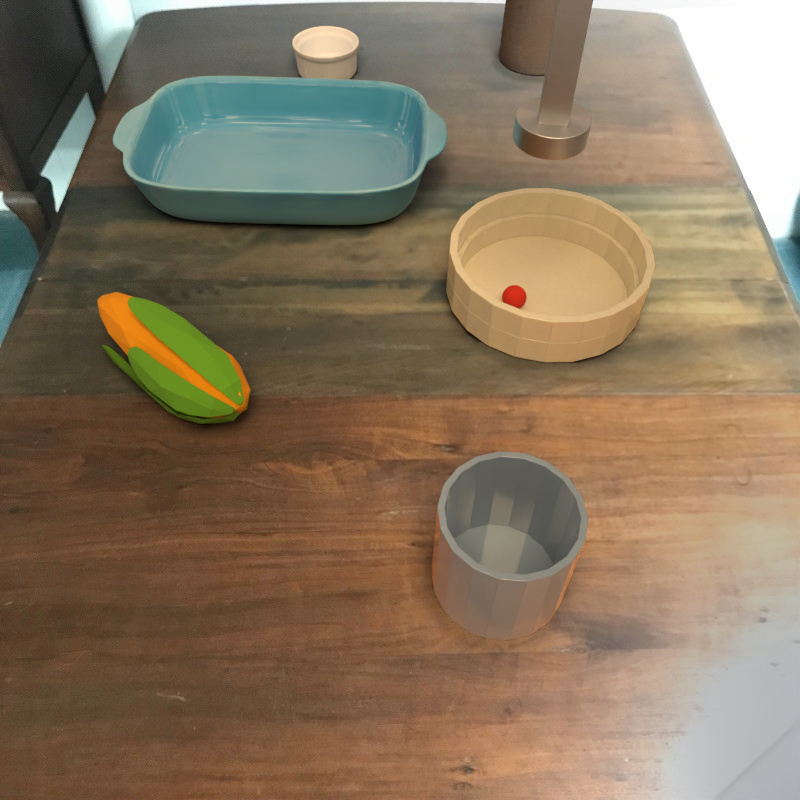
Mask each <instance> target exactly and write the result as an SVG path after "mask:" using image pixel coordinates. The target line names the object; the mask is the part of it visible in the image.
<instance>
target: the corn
mask: <svg viewBox="0 0 800 800" xmlns="http://www.w3.org/2000/svg"><path fill="white" fill-rule="evenodd" d="M96 303H97V307H98V313H99V317H100V319H101V321H102V323H103V326H104V327H105V329H106V331H107V334H108V335H109V336H110V337H111V338H112V339H113V341H114V342H115V343H116V344H117V345H118V346H119V348H120V349H121V350H122V351H123V352H124V353H125V355H126V356H127V358H128V361H129V362H127V361H126V360H125V359H124V358H123V357H122V356H121V355H120V354H119V353H117V352H116V351H115V350H114V349H113V348H112V347H110V346H108V345H105V344H100V346H101V348H102V349H103V351H104V352H105V353H106V354H107V356H108V357H109V359H110V360H111V362H113V363H114V364H115V365H116V366H117V367H118V368H119V369H120V370H121V371H123V372H124V374H126V375H127V376H128V377H129V378H130V379H131V380H132V381H133V382H135V383H136V384H137V385H138V386H139V387H140V388H141V389H142V390H143V391H144V392H145V393H146V394H148V395H149V396H150V397H151V398H152V399H153V400H155V401H156V402H157V403H158V404H159V405H160V406H161V407H162V408H163V409H165V411H167V412H168V413H169V414H171V415H173V416H175V417H177V418H179V419H181V420H184V421H185V420H186V421H189V422H193V423H196V424H199V425H200V424H201V425H202V424H203V425H205V424H206V425H207V424H224V423H230V422H234V421H235V420H236V419H237V418H238V417H239V416H240V415H241V414H242V413H243V412H245V411H246V410H247V409H248V407H249V402H250V398H251V390H252V389H251V387H250V385H249V383H248V380H247V378H246V376H245V374H244V371H243V369H242V367H241V364H240V363H239V362H238V361H237V359H236V358H235V357H234V356H233V355H232V354H231V353H229V352H227V350H224V349H223V348H221V347H220V346H219V345H218V344H216V343H214V342H213V341H212V340H211V339H210V338H209V337H207V336H206V335H205V334H204V333H203V332H201V330H199V329H198V328H197V327H195V325H193V324H191V323H190V322H189V321H188V320H187V319H186V318H184V317H183V316H181V315H180V314H178V313H176V312H174V311H172V310H171V309H169V308H168V307H166V306H164V305H163V304H160V303H158V302H155V301H152V300H149V299H146V298H143V297H137V296H132V295H128V294H125V293H122V292H118V291H114V292H111V293H107V294H102V295H101V296H100V297H99V298H97V302H96Z"/></svg>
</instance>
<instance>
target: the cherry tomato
mask: <svg viewBox="0 0 800 800" xmlns="http://www.w3.org/2000/svg"><path fill="white" fill-rule="evenodd" d="M526 298H527V296H526V292H525V290H524V289H523V288H522V287H520V286H518V285H511V286H509V287H507V288H506V289H505V290H504V292H503V294H502V301H503V303H506V304H508V305H511V306H513V307H516V308H518V309H519V308H521V307H522V306H523V305H524V304H525V302H526Z"/></svg>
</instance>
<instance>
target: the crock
mask: <svg viewBox="0 0 800 800" xmlns="http://www.w3.org/2000/svg"><path fill="white" fill-rule="evenodd" d="M436 507H437V508H436V517H435V518H436V519H435V527H434V528H435V529H434V537H433V538H434V539H433V549H432V550H433V551H432V560H431V579H432V586H433V592H434V595H435V596H436V599H437V601H438V603H439V605H440V606H441V608H442V610H443V612H444V613H445V614H446V615H447V616H448V617H449V618H450V619H451V620H452V621H453V622H454V623H455V624H457V625H458V626H459V627H460V628H461V629H463V630H465V631H467V632H469V633H471V634H473V635H476V636H478V637H481V638H484V639H488V640H489V639H490V640H495V641H512V640H518V639H521V638H524V637H527V636H531V635H533V634H535V633H536V632H537V631H540V630H541V629H542V628H543V627H544V626H545V625H547V624H548V623H550V621H551V620H552V618H553V617H554V616H555V614H556V612H557V611H558V609H559V607H560V606H561V604H562V601H563V599H564V596H565V594H566V591H567V589H568V587H569V584H570V581H571V579H572V576H573V574H574V571H575V568H576V566H577V563H578V561H579V559H580V556H581V553H582V551H583V549H584V545H585V543H586V541H587V540H586V539H587V532H588V524H589V516H588V512H587V509H586V505H585V502H584V497H583V495H582V494H581V493H580V491H579V490H578V488H577V487H576V485H575V484H574V483H573V481H572V479H570V477H569V476H568V475H566V474H565V473H564V472H562V470H560V469H558V468H557V467H556V466H555V465H553V464H552V463H551V462H549V461H548V460H545V459H543V458H539V457H537V456H535V455H531V454H528V453H525V452H515V451H502V450H501V451H500V450H499V451H495V452H490V453H485V454H479V455H478V456H477V455H476V456H474V457H473V458H471V459H470V460H468V461H466V462H465V463H463V464H461V465H459V466H458V467H456V468H455V470H454V471H453V472H452V473H451V475H450V476H449V478H447V480H446V481H445V482H444V484H443V485H442V488H441V491H440V496H439V499H438V503H437V506H436Z"/></svg>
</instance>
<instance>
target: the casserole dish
mask: <svg viewBox="0 0 800 800" xmlns="http://www.w3.org/2000/svg"><path fill="white" fill-rule="evenodd" d="M447 142H448V127H447V124H446V121H445V120H444V118H443V117H442V116H441V115H439V113H437V112H436V111H434V110H433V109H431V108H430V107H429V103H428V101H427V99H426V98H425V97H424V95H423V94H421V92H419V91H418V90H416V89H414V88H412V87H410V86H407V85H403V84H400V83H395V82H391V81H384V80H383V81H382V80H371V79H352V78H350V79H323V78H302V77H291V76H290V77H288V76H260V75H201V76H192V77H185V78H182V79H178V80H177V79H176V80H174V81H171V82H168V83H167V84H165V85H163V86H162V87H161V86H160V88H159V89H157V90H156V91H155V92H154V93H153V94H152V95H151V96H150V97H149V98H148V99H147V100H146V101H144V102H142V103H140V104H138V105H137V106H135V107H133V108H131V109H130V110H129V111H127V112H126V113H125V114H124V115H123V116H122V118H121V119H120V121H119V122H118V124H117V125H116V128H115V131H114V132H113V137H112V144H113V146H114V148H115V149H116V150H117V151H118V152H120V153H122V165H123V166H122V167H123V169H124V171H125V173H126V175H127V176H128V177H129V179H131V181H132V182H133V184H135V186H136V187H137V189H138V190H139V192H141V193H142V194H143V196H144V197H145V198H146V200H148V201H149V202H150V203H151V204H152V205H153V206H154V207H155V208H156V209H158V210H159V211H161V212H163V213H165V214H167V215H170V216H172V217H175V218H179V219H183V220H190V221H198V222H210V223H230V224H231V223H233V224H235V223H236V224H263V225H264V224H265V225H277V224H278V225H307V226H309V225H312V226H313V225H315V226H316V225H317V226H318V225H319V226H359V225H361V226H363V225H371V224H378V223H381V222H385V221H389V220H390V219H393V218H395V217H397V216H398V215H400V214H402V213H403V212H404V211H405V210H406V209H407V208H408V206H409V205H410V204H411V202H412V201H413V200H414V197H415V195H416V193H417V190H418V188H419V185H420V182H421V180H422V177H423V174H424V171H425V169H426V166H427V164H429V162H431V161H432V160H434V159H436V158H437V157H439V156H440V155H441V154H442V153H443V152H444V150H445V148H446V146H447V144H448V143H447Z"/></svg>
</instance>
